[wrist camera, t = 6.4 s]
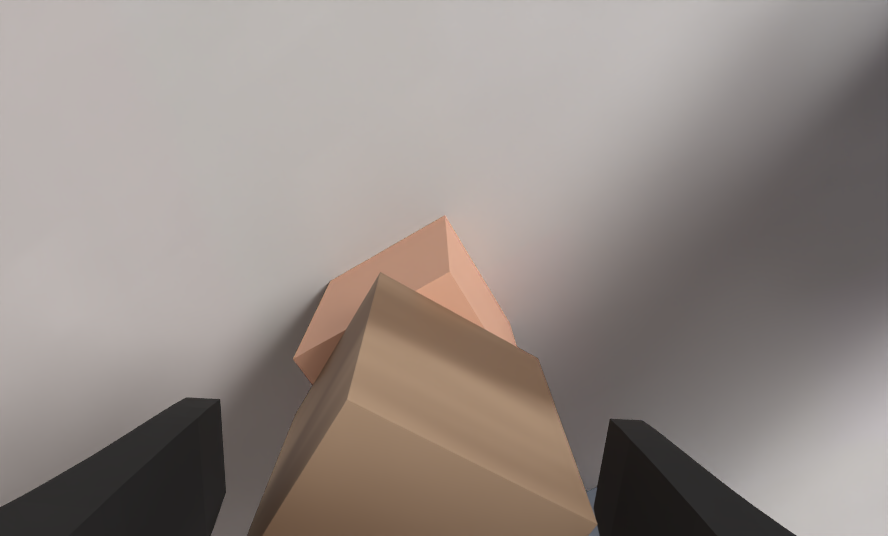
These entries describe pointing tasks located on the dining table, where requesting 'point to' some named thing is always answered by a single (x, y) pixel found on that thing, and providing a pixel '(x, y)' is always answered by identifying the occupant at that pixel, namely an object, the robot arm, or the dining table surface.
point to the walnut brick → (424, 435)
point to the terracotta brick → (416, 266)
